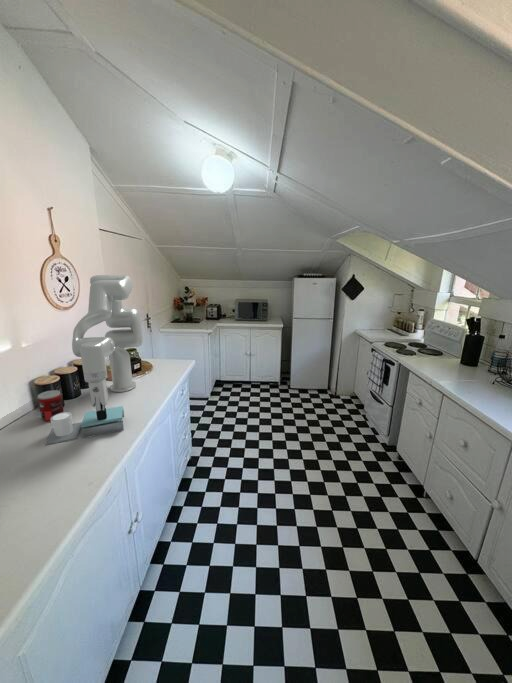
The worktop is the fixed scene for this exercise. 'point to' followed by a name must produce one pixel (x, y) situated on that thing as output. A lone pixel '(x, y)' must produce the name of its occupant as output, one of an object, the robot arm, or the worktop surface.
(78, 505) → the worktop surface
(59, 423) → the shot glass
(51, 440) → the mat
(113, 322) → the robot arm
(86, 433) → the grey flat bars
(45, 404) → the canned food
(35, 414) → the worktop surface
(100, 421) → the panel
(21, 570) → the worktop surface
